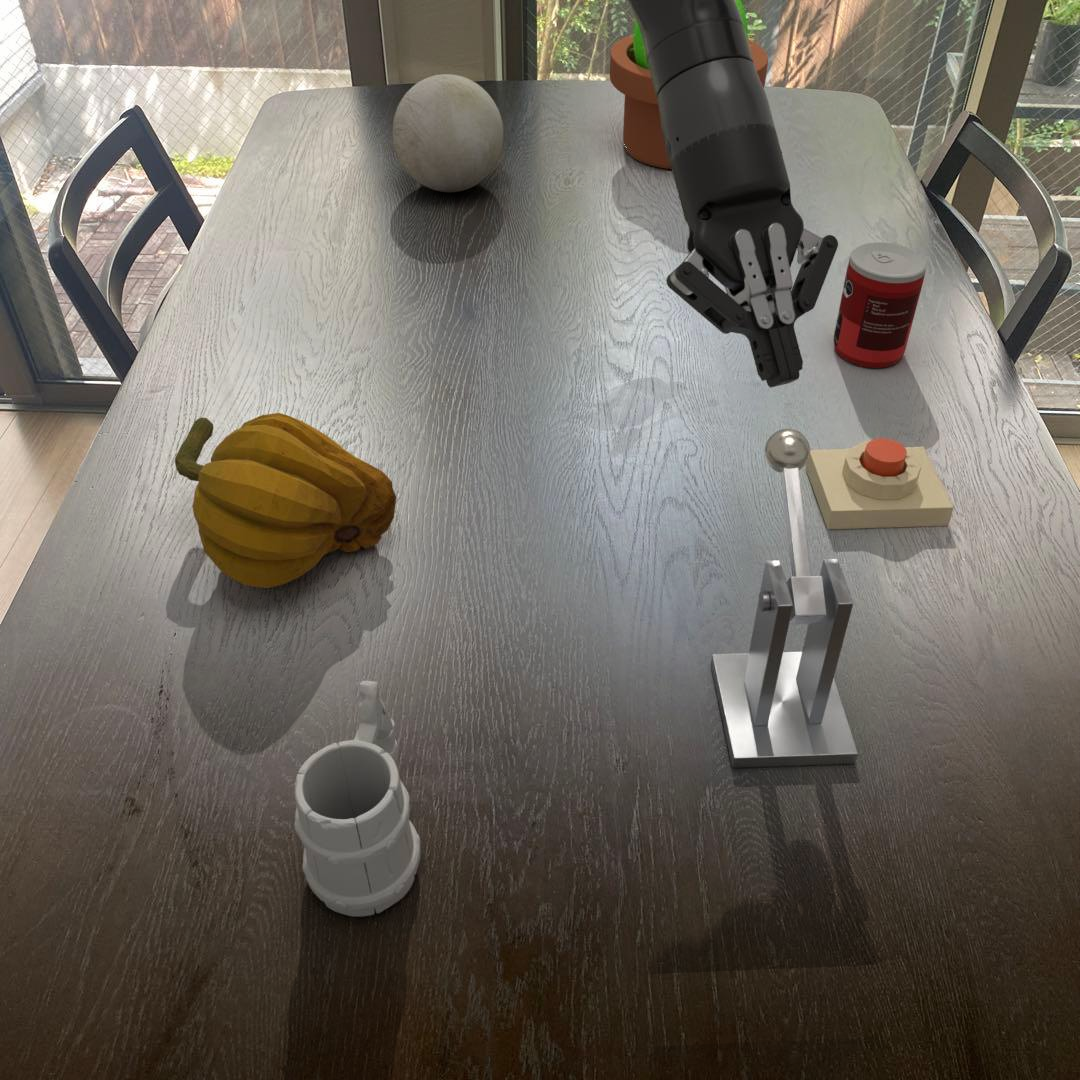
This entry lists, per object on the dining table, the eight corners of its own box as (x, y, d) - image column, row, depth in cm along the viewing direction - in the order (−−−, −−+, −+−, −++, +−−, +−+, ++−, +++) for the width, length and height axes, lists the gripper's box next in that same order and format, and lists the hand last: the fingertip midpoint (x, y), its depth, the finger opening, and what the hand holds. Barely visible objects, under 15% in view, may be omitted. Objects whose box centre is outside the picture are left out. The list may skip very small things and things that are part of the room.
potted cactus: (593, 125, 168) (598, -53, 151) (728, 115, 171) (748, -62, 154) (627, 184, 152) (636, -8, 135) (776, 171, 155) (803, -18, 138)
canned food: (859, 324, 124) (879, 234, 116) (918, 352, 119) (943, 261, 112) (816, 347, 120) (834, 256, 113) (876, 378, 115) (898, 285, 108)
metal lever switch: (710, 664, 85) (729, 534, 76) (823, 660, 86) (856, 530, 76) (731, 768, 78) (756, 638, 69) (855, 764, 78) (896, 633, 69)
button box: (918, 464, 104) (928, 431, 102) (948, 525, 98) (959, 491, 95) (805, 467, 104) (812, 434, 101) (827, 529, 97) (835, 495, 95)
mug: (291, 914, 70) (258, 806, 62) (343, 765, 79) (319, 653, 71) (406, 930, 69) (387, 823, 61) (446, 777, 78) (433, 666, 70)
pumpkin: (342, 651, 89) (108, 572, 88) (391, 541, 103) (187, 471, 101) (379, 524, 81) (122, 435, 80) (426, 422, 95) (206, 344, 93)
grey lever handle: (758, 440, 79) (767, 422, 76) (801, 439, 79) (812, 421, 76) (778, 626, 75) (788, 615, 72) (824, 624, 75) (836, 613, 72)
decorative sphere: (467, 219, 144) (461, 106, 134) (376, 196, 150) (364, 85, 140) (524, 178, 154) (523, 69, 144) (437, 157, 159) (429, 51, 149)
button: (896, 452, 100) (900, 437, 99) (907, 477, 97) (912, 461, 96) (857, 453, 100) (861, 438, 98) (868, 478, 97) (871, 462, 96)
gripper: (653, 134, 70) (721, 390, 70) (830, 107, 74) (895, 351, 73) (618, 181, 78) (679, 413, 77) (780, 154, 81) (839, 376, 81)
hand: (784, 382), depth 75 cm, fingers closed
